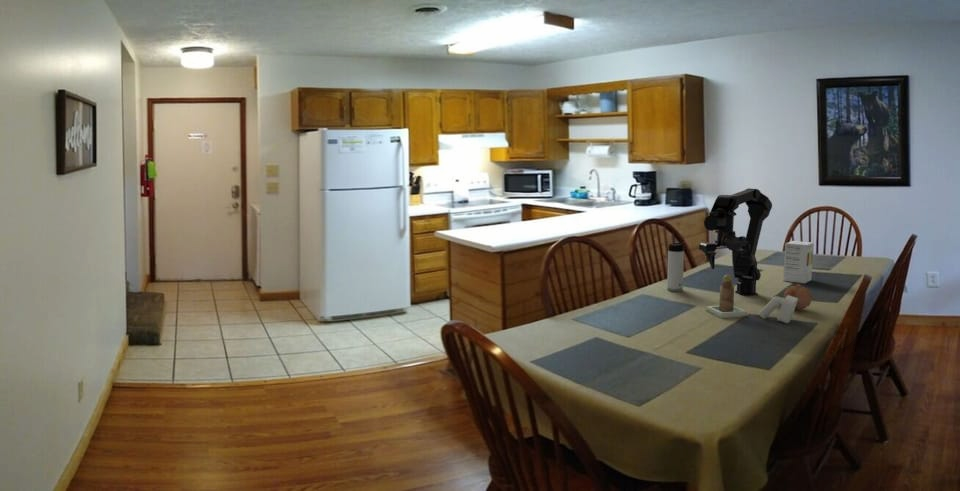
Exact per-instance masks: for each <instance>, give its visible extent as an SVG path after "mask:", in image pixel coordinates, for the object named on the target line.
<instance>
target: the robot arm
mask: <svg viewBox="0 0 960 491" xmlns="http://www.w3.org/2000/svg"><path fill="white" fill-rule="evenodd" d="M742 204H745V205H746V206H747V207H748V208H747V213H748V216H749V222H748V225H747V226H748V227H747V231H746V236H743V235H742V236H737V235H736V231H734V223H735V222H734V221H735V220H734V218H735V216H737V215H738V214H737V213H736V212H735V210H737V209H738V208H740V205H742ZM772 209H773V203H772V201H771V200H770V198H769V196H767V195H766V194H764V193H762V192H761V190H760V189H758V188H746V189H744V190H742V191H739V192H736V193H733V194H719V195H717V197H716V199H715V200H714V203H713V205H712V207H711V210H710V211H709V214H708V216H705V219H704V221H703V225H704V227H705V229H706V230H707V231H710V232H711V231H715V232H714V233H715V234H716V240H714V243H713V242H709V241H708V242H707V241H706V242H700V244H699V245H698V250H700V251H701V252H702V253H704V255H705V256H706V258H707V260H708V262H709V266H710V267H711V269H712V270H714V269H715V263H716V262H715V260H716V259H715V257H716V255H717V251H716V250H718V249H728V250H729V251H731V257H732V259H731V260H732V268H733V274H734V275H733V276H734V278H735V279H737V282H736V290H734V293H736V294H739V295H742V296H754V295H759V293H758V292H757V281H760V279H761V276H762V275H761V272H760V270H759V268H758V261H757V257H756V253H757V248H758V245H759V244H758V243H759V240H760V237H761V231H762V227H763V222H764V221H765V220H766V219H767V218H768V217H769V215H770V214H771V210H772Z"/></svg>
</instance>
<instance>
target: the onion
mask: <svg viewBox="0 0 960 491" xmlns="http://www.w3.org/2000/svg"><path fill="white" fill-rule="evenodd" d="M788 295H789V296H792V297H795V298H798V301H797V304H796V307H795V310H794V311H801V310H805V309H806V308H808V307H810V306H811V303H812V300H813V296H812V294H811V292H810V290H809V289H808V288H806V287H804V286H803V285H802V283H796V284H793V285H791V286H789V287H788V288H787V289H785V291H784V293H783V300H784V299H785V298H786V297H787V296H788Z"/></svg>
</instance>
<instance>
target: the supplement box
mask: <svg viewBox="0 0 960 491" xmlns="http://www.w3.org/2000/svg"><path fill="white" fill-rule="evenodd" d="M814 246H815V243H814V242H811V241H801V240H800V241H799V240H791V241H789V242H785V244H784V263H783V277H782V278H783V279H782V280H783V281H784V282H791V283H796V284H798V283H799V284H807V283H808V282H811V281H812V276H813V275H812V273H813V259H814Z"/></svg>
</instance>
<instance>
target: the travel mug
mask: <svg viewBox="0 0 960 491" xmlns="http://www.w3.org/2000/svg"><path fill="white" fill-rule="evenodd" d="M685 245H686V243H685V242H684V241H683V242H673V243H669V244H668V250H667V277H666V278H667V281H666V282H667V284H666V289H667V291H668V292H669V291H670V292H682V291H683V290H684V288H683V286H684V263H685V262H684V261H685V260H684V259H685V249H684V248H685Z"/></svg>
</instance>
